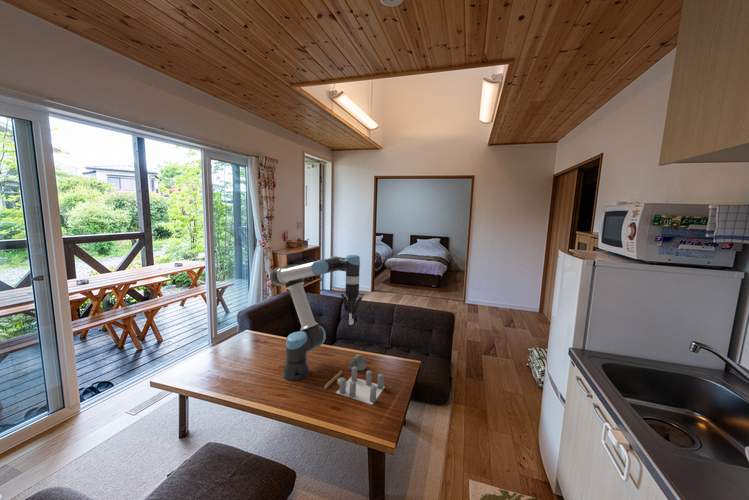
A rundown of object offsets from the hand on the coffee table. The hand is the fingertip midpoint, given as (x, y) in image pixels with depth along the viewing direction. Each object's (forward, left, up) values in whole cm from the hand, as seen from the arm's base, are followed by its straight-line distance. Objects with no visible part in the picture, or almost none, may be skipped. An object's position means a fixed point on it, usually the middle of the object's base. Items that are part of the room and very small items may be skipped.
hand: (351, 323), depth 161 cm
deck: (+8, -8, -32) cm, 34 cm away
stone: (0, +11, -33) cm, 35 cm away
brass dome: (-1, -8, -31) cm, 32 cm away
